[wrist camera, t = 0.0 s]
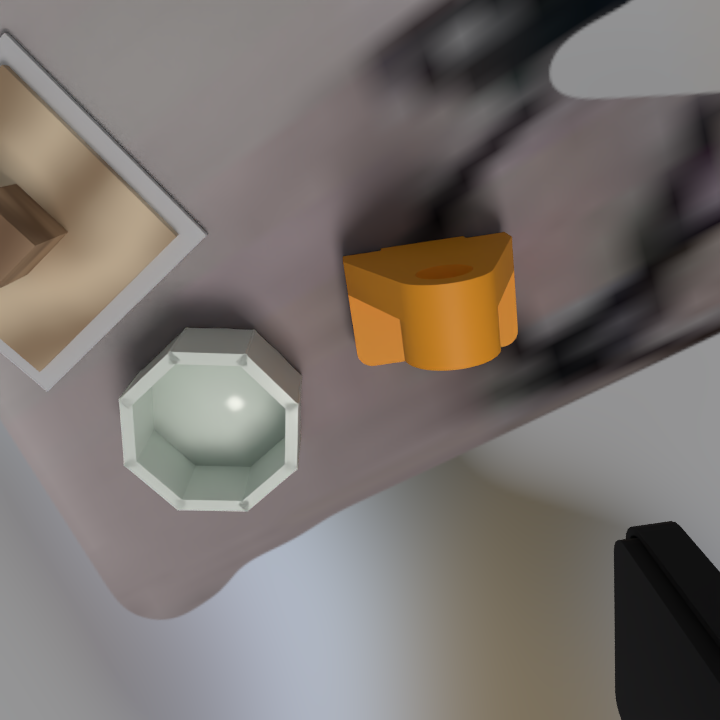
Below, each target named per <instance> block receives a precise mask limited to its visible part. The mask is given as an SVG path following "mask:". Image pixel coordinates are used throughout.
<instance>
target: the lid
mask: <svg viewBox="0 0 720 720" xmlns="http://www.w3.org/2000/svg"><path fill="white" fill-rule="evenodd" d="M178 235H179V234H178V233H177V232H176V231H175V230H174V229H173V228H172V227H171V226H170V225H169V224H168V223H167V222H166V221H165V220H164V219H163V218H162V217H161V216H160V215H159V214H158V213H157V212H156V211H155V210H154V209H153V208H152V207H151V206H150V205H149V204H148V203H147V202H146V201H145V200H144V199H143V198H142V197H141V196H140V195H139V194H138V193H137V192H136V191H135V190H134V189H133V188H132V187H131V186H130V185H129V184H128V183H126V182H125V181H124V180H123V179H122V178H121V177H120V176H119V175H118V174H117V173H116V172H115V171H114V170H113V169H112V168H111V167H110V166H109V165H108V164H107V163H106V162H105V161H104V160H103V159H102V158H101V157H100V156H99V155H98V154H97V153H96V152H95V151H94V150H93V149H92V148H91V147H90V146H89V145H88V144H87V143H86V142H85V141H84V140H83V139H82V138H81V137H80V136H79V135H78V134H77V133H76V132H75V131H74V130H73V129H72V128H71V127H70V126H69V125H68V124H67V123H66V122H65V121H64V120H63V119H62V118H61V117H60V116H59V115H58V114H57V113H56V112H55V111H54V110H53V109H52V108H51V107H50V106H49V105H48V104H47V103H46V102H45V101H44V100H43V99H42V98H41V97H40V96H39V95H38V94H37V93H36V92H35V91H33V90H32V89H31V88H30V87H29V86H28V85H27V84H26V83H25V82H24V81H23V80H22V79H21V78H20V77H19V76H18V75H17V74H16V73H15V72H14V71H13V70H12V69H11V68H10V67H9V66H7V65H1V66H0V339H1V340H2V341H3V342H5V343H6V344H7V345H8V346H9V347H10V348H12V349H13V350H14V351H15V352H16V353H18V354H19V355H20V356H21V357H22V358H23V359H25V360H26V361H27V362H28V363H29V364H31V365H32V366H33V367H34V368H35V369H36V370H38V371H39V372H40V371H42V370H43V369H44V368H45V367H46V366H47V365H48V364H49V363H50V362H51V361H52V360H53V359H54V358H55V357H56V356H57V355H58V354H59V353H60V352H61V351H62V350H63V349H64V348H65V347H66V346H67V345H68V344H69V343H70V342H71V341H72V340H73V339H74V338H75V337H76V336H77V335H78V334H79V333H80V332H81V331H82V330H83V329H84V328H85V327H86V326H87V325H88V324H89V323H90V322H91V321H92V320H93V319H94V318H95V317H96V316H97V315H98V314H99V313H100V312H101V311H102V310H103V309H104V308H105V307H106V306H107V305H108V304H109V303H110V302H111V301H112V300H113V299H114V298H115V297H116V296H117V295H118V294H119V293H120V292H121V291H122V290H123V289H124V288H125V287H126V286H127V285H128V284H129V283H131V282H132V281H133V280H134V279H135V278H136V277H137V276H138V275H139V274H140V273H141V272H142V271H143V270H144V269H145V268H146V267H147V266H148V265H149V264H150V263H151V262H152V261H153V260H154V259H155V258H156V257H157V256H158V255H159V254H160V253H161V252H162V251H163V250H164V249H165V248H166V247H167V246H168V245H169V244H170V243H171V242H172V241H173V240H174V239H175V238H176V237H177V236H178Z"/></svg>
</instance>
